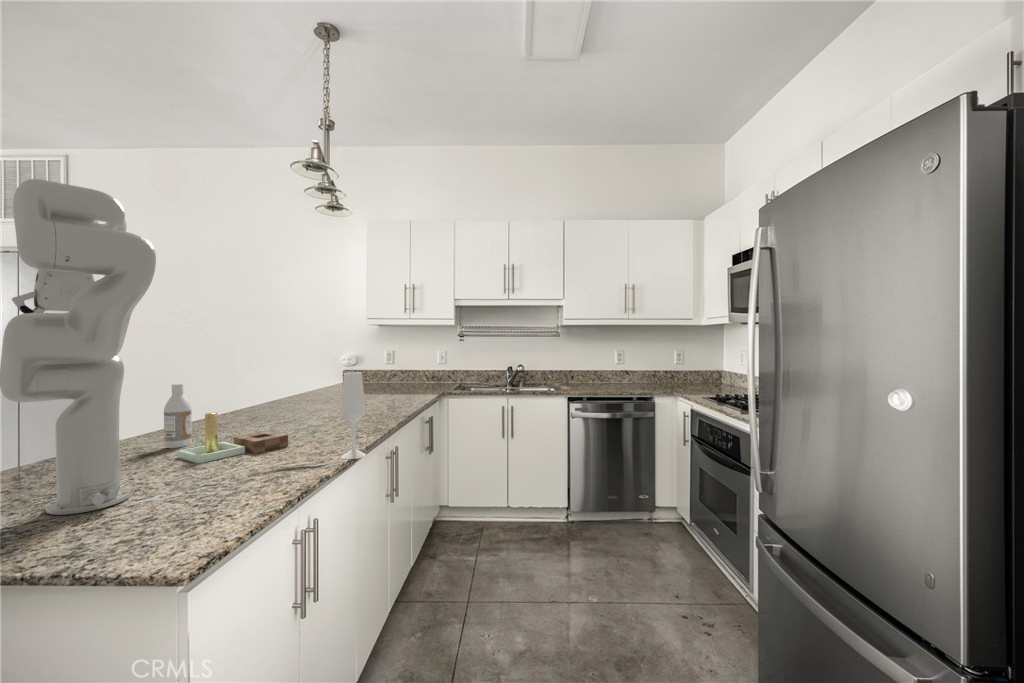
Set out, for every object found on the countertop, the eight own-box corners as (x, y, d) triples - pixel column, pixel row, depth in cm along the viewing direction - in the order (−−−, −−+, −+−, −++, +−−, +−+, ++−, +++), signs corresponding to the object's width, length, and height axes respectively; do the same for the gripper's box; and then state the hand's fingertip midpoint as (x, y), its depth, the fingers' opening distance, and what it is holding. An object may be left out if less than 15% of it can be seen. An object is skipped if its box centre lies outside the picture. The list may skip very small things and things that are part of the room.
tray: (244, 455, 129) (244, 446, 129) (198, 465, 118) (198, 456, 118) (223, 450, 135) (223, 441, 135) (177, 459, 124) (177, 450, 124)
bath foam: (185, 449, 136) (184, 384, 136) (159, 450, 135) (158, 385, 135) (196, 443, 143) (195, 382, 143) (171, 445, 142) (170, 383, 142)
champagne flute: (347, 452, 130) (347, 371, 130) (369, 452, 130) (368, 371, 130) (337, 458, 124) (335, 373, 123) (360, 459, 123) (359, 373, 123)
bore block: (288, 447, 137) (288, 434, 137) (255, 455, 128) (255, 441, 128) (266, 443, 143) (266, 430, 143) (233, 450, 135) (233, 437, 134)
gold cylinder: (220, 454, 127) (219, 413, 127) (208, 457, 124) (208, 414, 124) (215, 453, 129) (214, 412, 128) (203, 455, 126) (202, 413, 126)
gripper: (17, 256, 96) (18, 335, 96) (118, 267, 111) (119, 335, 111) (6, 259, 99) (7, 335, 99) (105, 269, 114) (106, 335, 115)
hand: (66, 335), depth 105 cm, fingers open, 9 cm apart
